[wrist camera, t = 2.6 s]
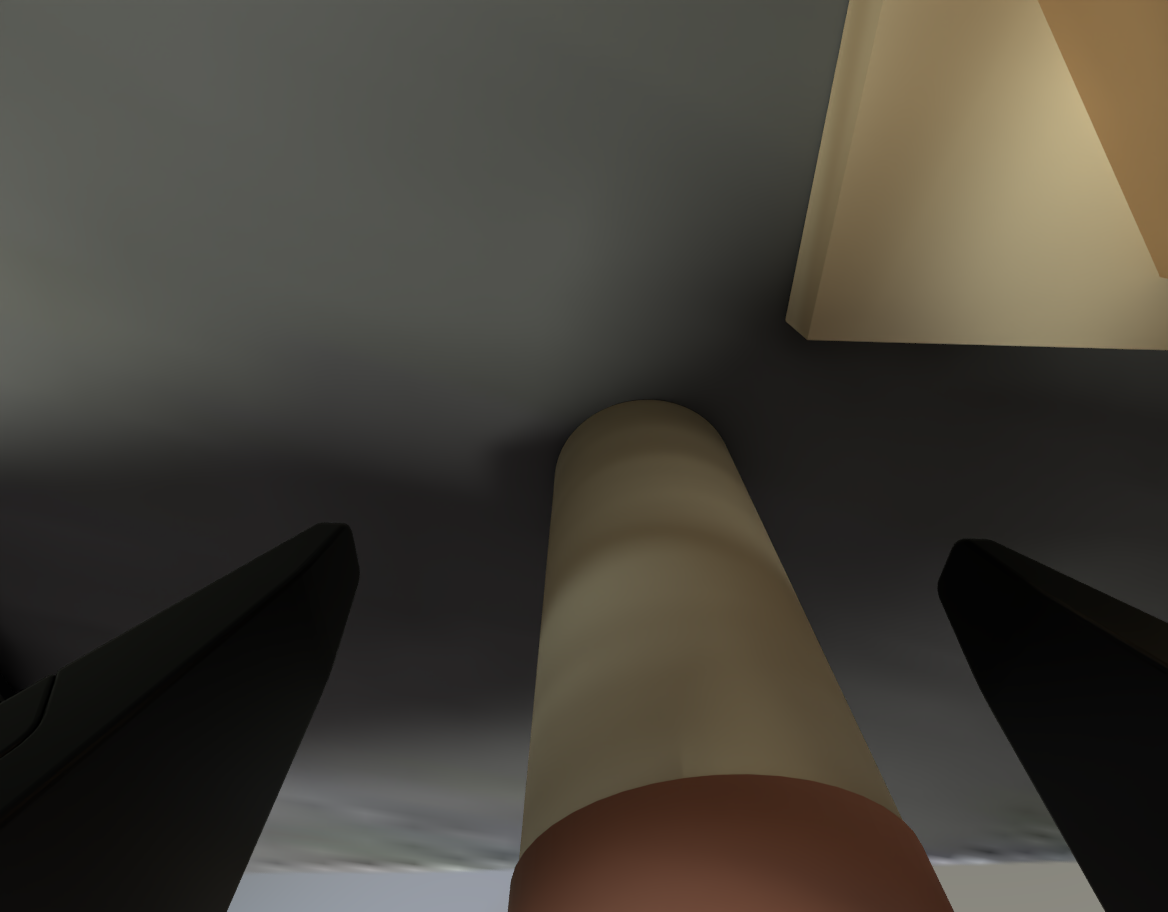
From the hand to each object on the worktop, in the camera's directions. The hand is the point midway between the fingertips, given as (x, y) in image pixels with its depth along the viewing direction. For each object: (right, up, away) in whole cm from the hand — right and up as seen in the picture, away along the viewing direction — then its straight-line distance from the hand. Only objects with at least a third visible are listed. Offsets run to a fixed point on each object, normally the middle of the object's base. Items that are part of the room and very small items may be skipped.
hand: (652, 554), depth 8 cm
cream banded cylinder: (0, +1, +2) cm, 2 cm away
